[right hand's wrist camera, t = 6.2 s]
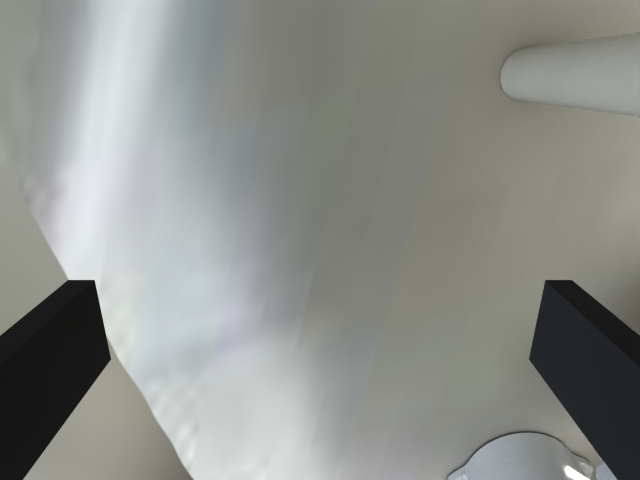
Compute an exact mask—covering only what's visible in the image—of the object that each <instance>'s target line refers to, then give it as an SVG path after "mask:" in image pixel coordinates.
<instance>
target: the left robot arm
mask: <svg viewBox="0 0 640 480" xmlns="http://www.w3.org/2000/svg"><path fill="white" fill-rule="evenodd" d="M592 473H593V468H592V466H591V465H590V463H589V461H588V460H586V459H584V458H582V457H579V456H577V455H574V454H572V453H571V452H570V451H569V450H568V449H567V448H566V447H565V446H564V445H563V444H562V443H561V442H560V441H558V440H556V439H555V438H552V437H550V436H547V435H544V434H539V433H516V434H510V435H506V436H503V437H500V438H498V439H495V440H493V441H491V442H489V443H488V444H486V445H485V446H483V447H482V448H480V449H479V450H478V451H477V452H476V453H475V454H474V455H473V456H472V457H471V459H470V460H469V461H468V462H467V464H466V465H465V466H463V467H462V468H460V469H458V470H457V471H455V472H453V473H452V474H451V475H450V476H449V477H448V478H447V480H590V479H591V476H592ZM596 475H597V480H617V479H616V477H615V476H614V475H613V473H612V472H611V470H610V469H609V468H608V466H607V465H606V464H605V462H603V463H602V464H600V465H599V466H598V467H597V468H596Z"/></svg>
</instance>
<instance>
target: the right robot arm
mask: <svg viewBox="0 0 640 480" xmlns="http://www.w3.org/2000/svg"><path fill="white" fill-rule="evenodd" d="M110 360H111V357H110V352H109V348H108V343H107V338H106V333H105V328H104V323H103V319H102V314H101V309H100V304H99V299H98V295H97V290H96V285H95V280H68V281H67V282H65V283H64V284H63V285H62V286H61V287H59V288H58V289H57V290H56V291H54V292H53V293H52V294H51V295H50V296H48V297H47V298H46V299H45V300H43V301H42V302H41V303H40V304H39V305H37V306H36V307H35V308H34V309H32V310H31V311H30V312H29V313H28V314H26V315H25V316H24V317H23V318H21V319H20V320H19V321H18V322H17V323H15V324H14V325H13V326H12V327H10V328H9V329H8V330H7V331H6V332H4V333H3V334H2V335H1V336H0V480H23V479H24V477H25V476H26V475H27V473H28V472H29V470H30V469H31V468H32V466H33V465H34V464H35V462H36V461H37V460H38V458H39V457H40V455H41V454H42V453H43V451H44V450H45V449H46V447H47V446H48V445H49V443H50V442H51V440H52V439H53V438H54V436H55V435H56V434H57V432H58V431H59V429H60V428H61V427H62V425H63V424H64V423H65V421H66V420H67V419H68V417H69V416H70V414H71V413H72V412H73V410H74V409H75V408H76V406H77V405H78V404H79V402H80V401H81V399H82V398H83V397H84V395H85V394H86V393H87V391H88V390H89V389H90V387H91V386H92V384H93V383H94V382H95V380H96V379H97V378H98V376H99V375H100V374H101V372H102V371H103V369H104V368H105V367H106V365H107V364H108V363H109V361H110ZM529 360H530V361H531V363H532V364H533V365H534V367H535V368H536V369H537V371H538V372H539V374H540V375H541V376H542V378H543V379H544V380H545V382H546V383H547V384H548V386H549V387H550V389H551V390H552V391H553V393H554V394H555V395H556V397H557V398H558V399H559V401H560V402H561V404H562V405H563V406H564V408H565V409H566V410H567V412H568V413H569V414H570V416H571V417H572V419H573V420H574V421H575V423H576V424H577V425H578V427H579V428H580V429H581V431H582V432H583V434H584V435H585V436H586V438H587V439H588V440H589V442H590V443H591V445H592V446H593V447H594V449H595V450H596V451H597V453H598V454H599V455H600V457H601V458H602V460H603V461H604V462H605V464H606V465H607V466H608V468H609V469H610V470H611V472H612V473H613V475H614V476H615V477H616V479H617V480H640V336H639V335H638V334H637V333H636V332H634V331H633V330H632V329H631V328H630V327H628V326H627V325H626V324H625V323H623V322H622V321H621V320H620V319H619V318H617V317H616V316H615V315H614V314H612V313H611V312H610V311H609V310H608V309H606V308H605V307H604V306H603V305H601V304H600V303H599V302H598V301H597V300H595V299H594V298H593V297H592V296H590V295H589V294H588V293H587V292H586V291H584V290H583V289H582V288H581V287H580V286H578V285H577V284H576V283H575V282H573V281H572V280H545V285H544V290H543V295H542V299H541V304H540V309H539V314H538V319H537V323H536V328H535V333H534V338H533V343H532V348H531V352H530V357H529Z"/></svg>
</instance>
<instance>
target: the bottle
mask: <svg viewBox="0 0 640 480" xmlns="http://www.w3.org/2000/svg"><path fill="white" fill-rule="evenodd" d="M500 81H501V86H502V89H503V90H504V92H505V93H506V94H507V95H508V96H509V97H510V98H512V99H514V100H519V101H526V102H533V103H541V104H548V105H556V106H563V107H571V108H578V109H585V110H593V111H600V112H608V113H615V114H623V115H630V116H637V117H640V32H638V33H631V34H623V35H615V36H608V37H600V38H592V39H584V40H577V41H569V42H561V43H554V44H546V45H538V46H531V47H524V48H521V49H519V50H517V51H515V52H514V53H512V54H511V55H510V56H509V57H508V58H507V60H506V61H505V63H504V65H503V67H502V70H501V75H500Z"/></svg>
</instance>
